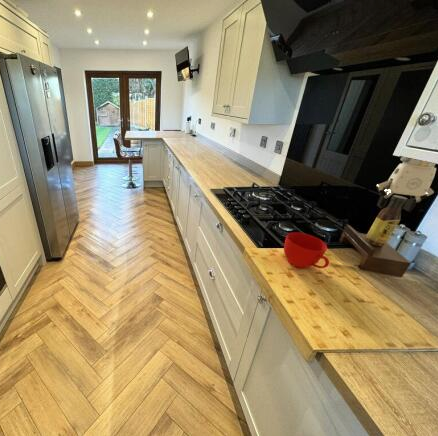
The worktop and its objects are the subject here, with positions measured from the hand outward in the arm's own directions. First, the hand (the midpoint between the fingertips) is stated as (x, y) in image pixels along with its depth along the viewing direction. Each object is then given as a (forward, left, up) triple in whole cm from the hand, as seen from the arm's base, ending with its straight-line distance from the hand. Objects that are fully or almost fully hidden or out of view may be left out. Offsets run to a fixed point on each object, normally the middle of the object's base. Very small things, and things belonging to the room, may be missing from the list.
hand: (393, 208), depth 88 cm
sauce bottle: (0, 0, -15) cm, 15 cm away
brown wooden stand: (+1, +2, -22) cm, 22 cm away
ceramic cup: (+29, +17, -22) cm, 40 cm away
